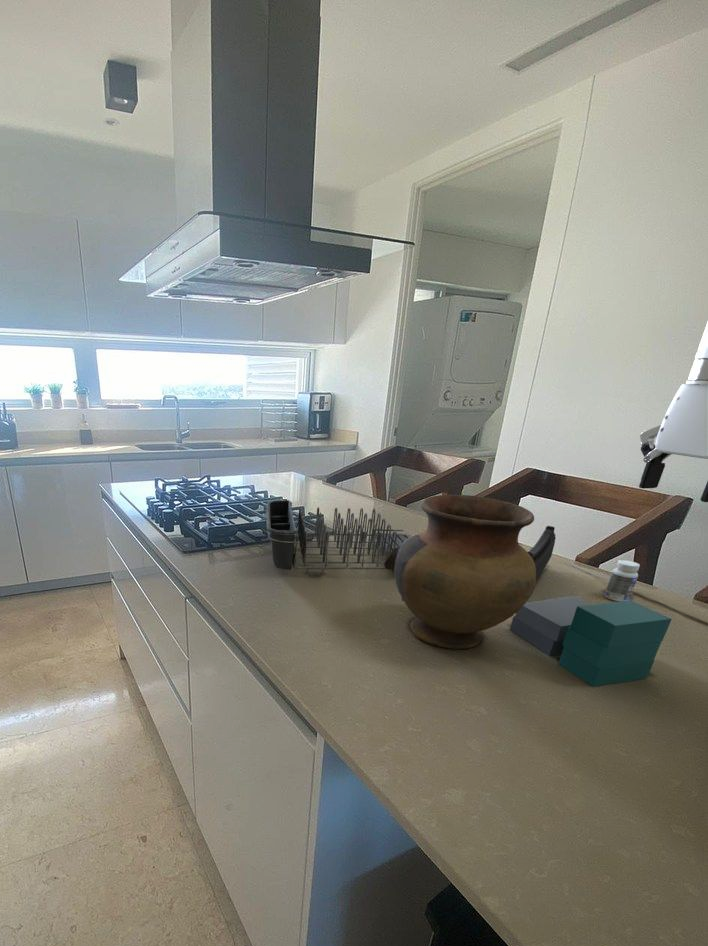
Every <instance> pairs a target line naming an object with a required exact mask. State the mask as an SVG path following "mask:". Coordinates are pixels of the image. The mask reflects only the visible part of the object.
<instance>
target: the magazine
mask: <svg viewBox="0 0 708 946" xmlns="http://www.w3.org/2000/svg"><path fill="white" fill-rule="evenodd" d="M555 529H556V527H555V526H551V525H547V526H545V529H544V530H543V532H542V534H541V536H540V537H539V539H538V540H537V541H536V543H535V545H534V546H532V547H531V548H530V549H529V551H527V552H528V553H529V555H530V556H531V557H532V559H533V561H534V563H535V568H536V582H537V581H538V580H539V578H541V575H542V574H543V572H544V570H545V568H546V567H547V565H548V564H549V562H550V559H551V558H552V556H553V552H554V547H555V543H556V533H555Z"/></svg>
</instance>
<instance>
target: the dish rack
mask: <svg viewBox="0 0 708 946" xmlns="http://www.w3.org/2000/svg"><path fill="white" fill-rule="evenodd" d="M292 507H293V503H292V501H291V500H289V499H282V500H281V499H278V500H272V501H269V502H267V503H266V510H265V511H266V514H265V515H266V518H265V519H266V530H267V538H268V539H270V547H271V557H272V558H271V559H272V562H273V565H274V566H275V568H277V569H279V570H285V571H291V570H292V568H293V569H295V570H296V569H298V570H306V575H308V576H311V577H317V576H318V577H322V576H323V575H324V573H325V570H387V569H386V568H385V566H379V565H380V564H384V562H385V561H383V562H382V561H381V562H380V557H385V559H386V558H387V557H388V555H389V554H390V553H391V552H392V550H393V549H394V548H396V547H398V546H400V545H401V544H402V543H403V542H404V541H405V540H407V539H408V538H409V537H410V536H412V535H411V534H407V533H397V532H404V531H405V530H404V529H392V525H391V524H390V523H388V524H387V527H386V523H387V522H386V518H385V517H383V518H382V517H381V512H378V513H377V517H376V511H377V510H376V508H375V507H373V508H372V512H371V517H369V518H368V513H367V512H364V508H363V507H361V508H360V509H359V510H360V511H359V516H358V517H355V513H354V512H351V508H350V507H348V508H347V511H346V520H345V521H344V518H343V517H341V512H338V507H336V506H335V508H334V513H333V514H334V515H333V521H332V530H331V531H332V532H331V533H330V531H329V530H328V529H327V524H326V523H324V520H325V519H324V517H322V512H320V507H319V506H317V508H316V517H315V527H314V530H315V531H314V532H312V533H311V532H308V530H306V524H305V523H304V522H305V521H304V517H303V512H302V507H301V506H299V507H298V518H297V527H296V524H295V519H294V513H293V510H292ZM381 518H382V519H381ZM344 523H345V524H344ZM308 536H311V538H310V537H309V538H308ZM314 536H316V537H315V540H314ZM330 536H333V540H330ZM295 538H296V539H295ZM367 539H368V540H367ZM309 542H310V543H315V542H316V543H317V546H307V545H308V543H309ZM330 543H336V546H329V545H330ZM366 545H367V547H366ZM298 547H299V548H300V555H301V562H302V564H303V566H296V560H297V554H298ZM307 549H319V553H307ZM329 549H339V553H329ZM351 549H352V550H353V551H352V554H350V553H351V552H350V550H351ZM371 550H372V552H371ZM377 550H378V551H377ZM385 552H386V554H385ZM366 553H367V554H366ZM307 556H322V561H307ZM328 556H342V561H328V559H329V557H328ZM350 556H357V558H356V561H354V562H353V561H349V560H350ZM365 556H367V557H369V556H371V561H365ZM361 559H362V560H361ZM375 560H376V561H375ZM306 564H324V566H306ZM328 564H346V566H328ZM349 564H361V566H349ZM364 564H376V566H364ZM309 570H322V572H309Z"/></svg>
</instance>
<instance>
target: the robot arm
mask: <svg viewBox="0 0 708 946" xmlns="http://www.w3.org/2000/svg"><path fill="white" fill-rule="evenodd" d="M655 438H656V439H655ZM639 439H640V445H641V447H640V451H641V454H642V455H643V462H644V463H645V466H644V469H643V472H642V474H641V478H640V482H639V485H638V488H639V489H643V490H644V489H656V488H658V487H659V484H660V482H661V478H662V475H663V473H664V469H665V468H666V463H665V462H663V461H665V460H666V459H667V458H669V457H670V456H672V455H675V456H676V455H677V456H683V457H689V458H697V459H705V460H708V321H707V322H706V324H705V328H704V331H703V334H702V337H701V339H700V342H699V345H698V348H697V350H696V352H695V356H694V359H693V362H692V364H691V367H690V370H689V373H688V376H687V379H686V381H685V384H684V383H683V384H681V385H680V387H679V388H678V390H677V392H676V393H675V395H674V397H673V398H672V400H671V403H670V404H669V406H668V408H667V411H666V413H665V415H664V417H663V419H662V422H661V424H660V425H657V426H655V427H651V428H649V429H647V430H645V431H642V432H640V434H639ZM699 499H700V501H701V502H703V503H708V480H707V481H706V483H705V486H704V489H703V491H702V494H701V496H700V498H699Z"/></svg>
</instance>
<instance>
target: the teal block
mask: <svg viewBox="0 0 708 946" xmlns="http://www.w3.org/2000/svg"><path fill="white" fill-rule="evenodd" d="M592 604H593V603H592ZM671 623H672V618H671V617H669V616H667V615H664V614H663V613H660V612H658V611H656V610H653V609H652V608H648V607H646V606H644V605H642V604H640V603H637V602H635V601H633V600H630V599H629V601H621V602H619V601H612V602H603V603H594V604H593V605H583V606H577V608H576V611H575V614H574V617H573V620H572V623H571V626H570V628H572V629H573V630H575V631H577V632H579V633H580V634H582V635H584V636H586V637H587V638H589V639H591V640H593V641H594V642H596V643H598V644H600V645H602V646H603V647H605V648H615V647H622V646H630V645H637V644H644V643H652V642H659V641H661V642H663V641H664V639H665V636H666V634H667V631H668V629H669V626H670V624H671Z"/></svg>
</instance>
